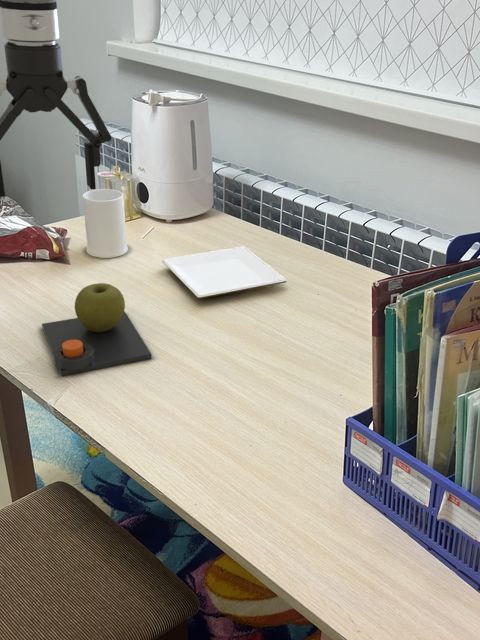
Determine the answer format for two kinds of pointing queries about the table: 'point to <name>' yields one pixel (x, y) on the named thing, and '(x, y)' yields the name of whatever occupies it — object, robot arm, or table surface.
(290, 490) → the table surface
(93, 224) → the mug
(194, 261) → the plate
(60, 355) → the scale
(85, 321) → the apple
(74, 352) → the button
